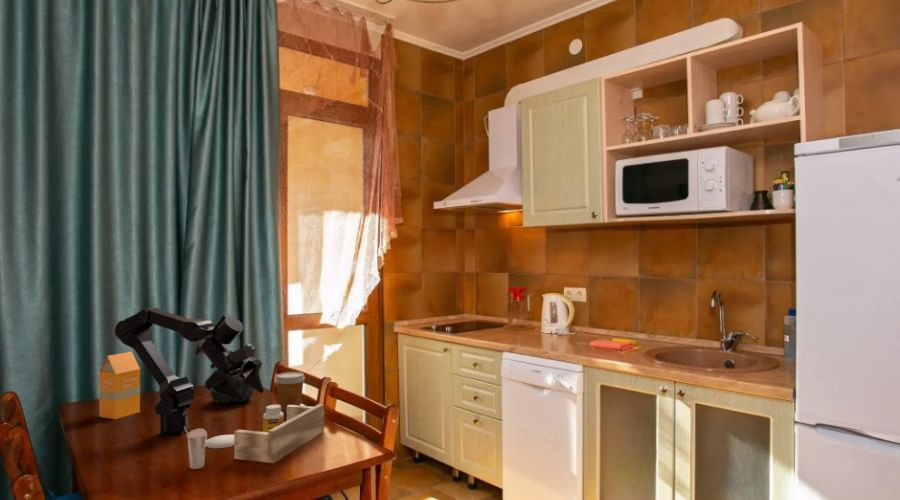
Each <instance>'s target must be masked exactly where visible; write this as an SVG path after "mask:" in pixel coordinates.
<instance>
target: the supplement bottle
mask: <svg viewBox="0 0 900 500" xmlns="http://www.w3.org/2000/svg"><path fill="white" fill-rule="evenodd" d="M284 414H285V413H283V412H281V406H280V404H270V405H267V406H266V407H265V413H263V416H262V432H268V431H269V430H271V429H273V428H275V427H276V426H278V425H280V424H282V423H284V422H285V415H284Z"/></svg>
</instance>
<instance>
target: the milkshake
mask: <svg viewBox="0 0 900 500" xmlns="http://www.w3.org/2000/svg"><path fill="white" fill-rule="evenodd" d="M184 428H185V426H184ZM187 430H188V429H187ZM187 430H186V428H185V432H186V438H187V439H186V440H187V448H188V460H189V467H190V469H192V470H193V469H194V470H198V469H201V468H203V467H204V466H205V459H206V448H207V447H206V440H208V439H207V437H208V432H207V430H205V429H204V428H199V427H198V428H196V429H191V430H190V431H189V432H188V431H187Z"/></svg>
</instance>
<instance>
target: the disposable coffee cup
mask: <svg viewBox="0 0 900 500" xmlns="http://www.w3.org/2000/svg"><path fill="white" fill-rule="evenodd" d="M305 378H306V377H305V374H304V373H303V372H301V371H300V372H299V371H289V372H282V373H279V374H276V378H275V381H276V386H277V395H278V402H279V405H280V406H281V412H283V413H284V414H287V406H288V405H298V406H302V405H301V404H302V396H303V389H304V388H303V387H304V381H305Z"/></svg>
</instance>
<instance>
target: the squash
mask: <svg viewBox="0 0 900 500" xmlns="http://www.w3.org/2000/svg"><path fill="white" fill-rule="evenodd" d="M244 365H245V363H244V364H243V365H241V366H242V367H243V366H244ZM243 380H244V379H243V378H241V377H240V376H239V375H238V376H235V377H233V383H234V384H235V386H236V387H237V389H238V390H239V392H240V393H241V395H242V396H243V398H244V400H243V401H242V402H245V401H249V399H251V398H252V396H253V395H254V393H255V389H254V388H252V387H251V386H250V385H248V384H247V383H245V382H244V381H243ZM210 394H211V396H210V397H211V398H212V400H213V401H214V402H215V403H217V404H220V405H221V404H222V405H223V404H225V405H226V404H230V403H231V402H232V403H235V402H239V401H238V400H236V399H233V398H231V397H229V396H226V395H224V394H221V393H218V392H213V390H212V391H210Z"/></svg>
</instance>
